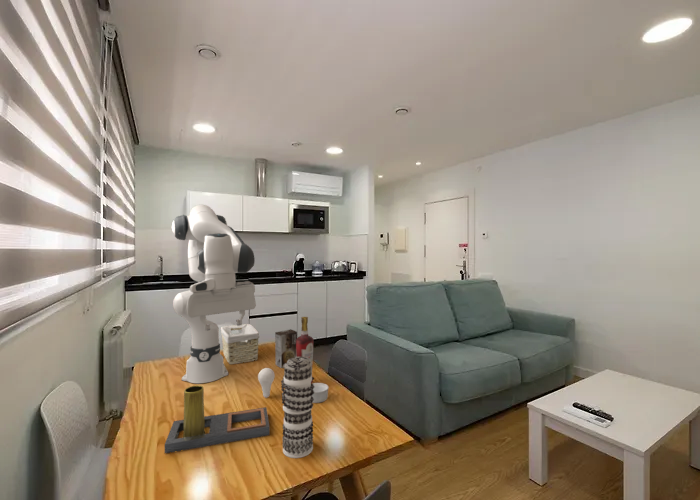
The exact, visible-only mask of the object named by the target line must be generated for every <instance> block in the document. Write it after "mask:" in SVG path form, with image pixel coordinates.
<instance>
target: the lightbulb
mask: <svg viewBox="0 0 700 500" xmlns="http://www.w3.org/2000/svg"><path fill="white" fill-rule="evenodd" d="M257 379H258V382H259V384H260V387H261V391H262V396H263V397H264V398H265V399H267V398H269V397H270V395H271V388H272V384H273V382H274V380H275V372H274V370H273V369H271V368H269V367H265V368H264V367H263V368H262V369H261V370H260V371H259V373H258V374H257Z"/></svg>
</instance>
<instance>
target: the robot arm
mask: <svg viewBox="0 0 700 500" xmlns="http://www.w3.org/2000/svg"><path fill="white" fill-rule="evenodd" d="M171 224H172V225H171V230H172V234H173V235H174V237H175V238H176V239H177V240H180V241H187V240H188V245H187V266H188V275H189V277H190V279H192V280H193V281H195V283H194V284H191V285H190V286H189V289H188V290H185V291H181V292H178V293H177V294H176V295H175V296H174V298H173V301H172V308H173V310H174V313H176V314H177V315H178V316H179V317H182V318H183V319H184V320H185V321H186V322H187V324H188V325H189V330H190V336H191V346H190V350H189V352H190V353H189V354H190V356H189V358H188V359H187V360H186V367H185V368H186V369H185V371H186V372H185V374H184V375H183V376H182V377H181V381H184V382H188V383H191V384H204V383H210V382H214V381H217V380H220V379H221V378H223V377H226V376H228V375H229V371H228V369H227V367H226V366H225V363H224V356H223V355H222V354H221V343H220V328H219V325H218V324H216V323H215V322H213V321H211V320H208V319H207V316H211V315H212V316H213V315H219V314H227V313H236V312H239V315H240V316H239V319H236V320H235V321H236V322H235V323H236V324H235V325H237V326H240V325H242V324H243V319H244V318H245V316H246V311H248V310H254V309H255V308H256V306H257V303H256V297H255V292H256V286H255V284H254V283H253V282H251V281H249V280H245V281H236V274H247V273H248V272H249V271H250V270H252V268H253V267H254V265H255V262H256V261H255V259H256V257H255V255H254V251H253V249H252V248H251V247H250V246H249V245H248V244H247V243H245V242H244V241H243V240H242V238H241V237H240V236H239V234H238V233H237V232H236V231H235V230H234V229H233V228H232V227H231V226H230V225H228V222H227V220H226V218H225V217H224V216H223V215H220V214H217V213H216V212H215V211H214V210H213V208H212V207H210V206H209V205H206V204H197V205H194V206H193V207H192V208H191V209H190V211H189V214H187V215H185V214H182V215H178V216H176V217H174V219H173V221H172V223H171Z"/></svg>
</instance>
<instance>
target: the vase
mask: <svg viewBox="0 0 700 500" xmlns="http://www.w3.org/2000/svg"><path fill="white" fill-rule="evenodd" d="M183 392H184V393H183V420H184V431H182V433H183V435H182V438H184V437H190V436H196V435H202V434H206V430H205V428H206V427H205V420H204V417H205V405H204V404H205V403H204V402H205V401H204V399H205V398H204V386H203V385H191V386H189V387H186V388H184V390H183Z"/></svg>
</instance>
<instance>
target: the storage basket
mask: <svg viewBox="0 0 700 500" xmlns="http://www.w3.org/2000/svg"><path fill="white" fill-rule="evenodd" d="M238 330H241V332H238V333H232V331H238ZM220 332H221V333H220V335H221V342H222V352H223V357H224V358H225V360H226V361H227V363H228V364H229V365H236V364H243V362H244V363H248V362H254V360H255V361H258V356H259V338H260V333H259V331H258V330H257V329H256V328H255V326H253V325H252V324H250V323H245V324H243V323H242V325H240V326H237V324H235V325H225V326H221V327H220Z"/></svg>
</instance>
